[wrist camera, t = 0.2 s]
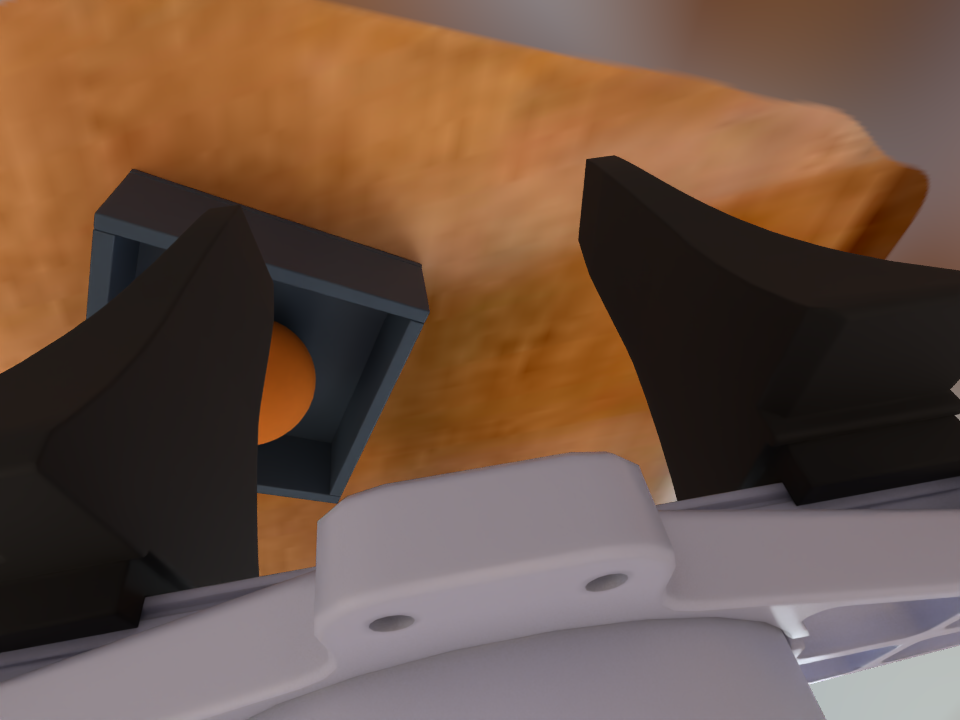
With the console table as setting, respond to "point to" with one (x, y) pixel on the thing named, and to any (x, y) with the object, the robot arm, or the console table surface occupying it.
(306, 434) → the dark gray tray
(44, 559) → the robot arm
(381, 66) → the console table surface
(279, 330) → the orange
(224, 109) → the console table surface
